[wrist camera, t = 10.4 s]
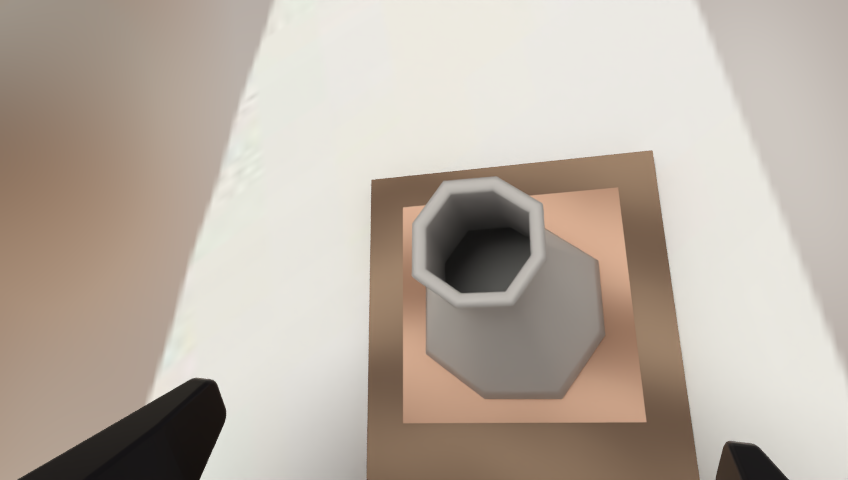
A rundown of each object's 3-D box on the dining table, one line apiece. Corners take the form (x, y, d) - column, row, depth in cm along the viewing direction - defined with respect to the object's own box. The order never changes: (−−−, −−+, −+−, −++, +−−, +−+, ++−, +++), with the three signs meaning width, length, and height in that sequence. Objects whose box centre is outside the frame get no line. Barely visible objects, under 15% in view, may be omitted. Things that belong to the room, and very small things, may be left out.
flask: (627, 246, 21) (680, 126, 12) (580, 431, 20) (599, 458, 11) (453, 204, 24) (384, 75, 14) (399, 369, 22) (283, 346, 13)
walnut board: (725, 699, 18) (733, 714, 17) (370, 665, 20) (362, 676, 19) (649, 158, 23) (652, 149, 22) (377, 186, 26) (370, 179, 25)
